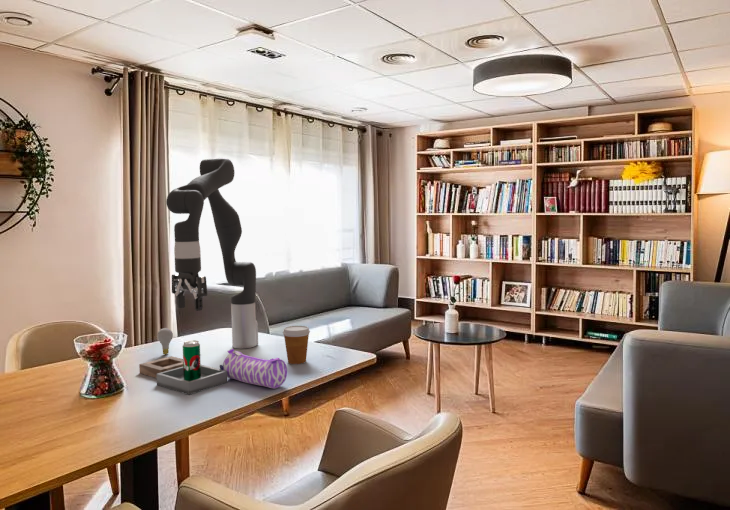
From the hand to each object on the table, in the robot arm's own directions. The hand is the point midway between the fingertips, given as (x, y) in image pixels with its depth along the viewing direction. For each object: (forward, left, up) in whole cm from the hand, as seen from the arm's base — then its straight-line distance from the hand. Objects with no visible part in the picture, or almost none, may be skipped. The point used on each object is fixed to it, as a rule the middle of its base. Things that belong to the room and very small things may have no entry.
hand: (189, 309), depth 164 cm
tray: (+1, +1, -23) cm, 23 cm away
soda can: (0, +1, -22) cm, 22 cm away
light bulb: (-15, -37, -23) cm, 47 cm away
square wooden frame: (-2, -17, -23) cm, 29 cm away
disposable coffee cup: (-35, +11, -23) cm, 44 cm away
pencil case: (-11, +16, -23) cm, 30 cm away
